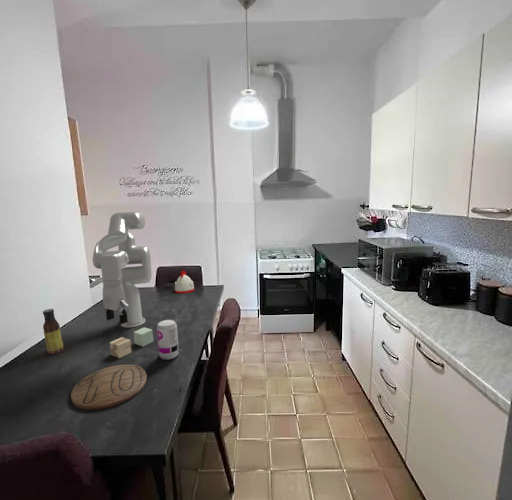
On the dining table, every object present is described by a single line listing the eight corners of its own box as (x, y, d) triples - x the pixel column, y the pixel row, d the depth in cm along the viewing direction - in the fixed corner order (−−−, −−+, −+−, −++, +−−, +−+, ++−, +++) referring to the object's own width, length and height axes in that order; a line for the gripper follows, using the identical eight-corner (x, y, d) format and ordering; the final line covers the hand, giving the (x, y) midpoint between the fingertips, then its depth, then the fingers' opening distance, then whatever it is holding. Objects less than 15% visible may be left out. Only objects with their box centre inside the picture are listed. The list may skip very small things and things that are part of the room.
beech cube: (111, 355, 137) (109, 342, 136) (123, 349, 142) (122, 337, 141) (119, 358, 133) (117, 345, 132) (131, 352, 138) (130, 340, 137)
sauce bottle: (67, 349, 144) (60, 308, 140) (54, 355, 138) (47, 313, 134) (56, 347, 146) (50, 307, 142) (44, 353, 140) (36, 312, 136)
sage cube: (134, 343, 147) (133, 331, 146) (145, 338, 151) (144, 327, 150) (143, 346, 143) (141, 334, 142) (153, 341, 148) (152, 329, 147)
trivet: (66, 420, 97) (65, 415, 97) (76, 378, 120) (75, 374, 119) (149, 397, 107) (149, 392, 106) (144, 363, 129) (144, 358, 129)
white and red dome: (171, 293, 222) (170, 273, 220) (179, 287, 236) (178, 268, 233) (190, 293, 220) (188, 273, 217) (197, 287, 233) (195, 268, 231)
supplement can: (161, 362, 129) (158, 328, 126) (158, 353, 136) (154, 321, 133) (181, 357, 132) (178, 324, 130) (176, 349, 140) (173, 317, 137)
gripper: (92, 282, 133) (97, 320, 136) (116, 287, 124) (121, 327, 126) (109, 278, 140) (113, 315, 142) (133, 282, 130) (137, 321, 133)
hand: (117, 321), depth 134 cm, fingers open, 9 cm apart
